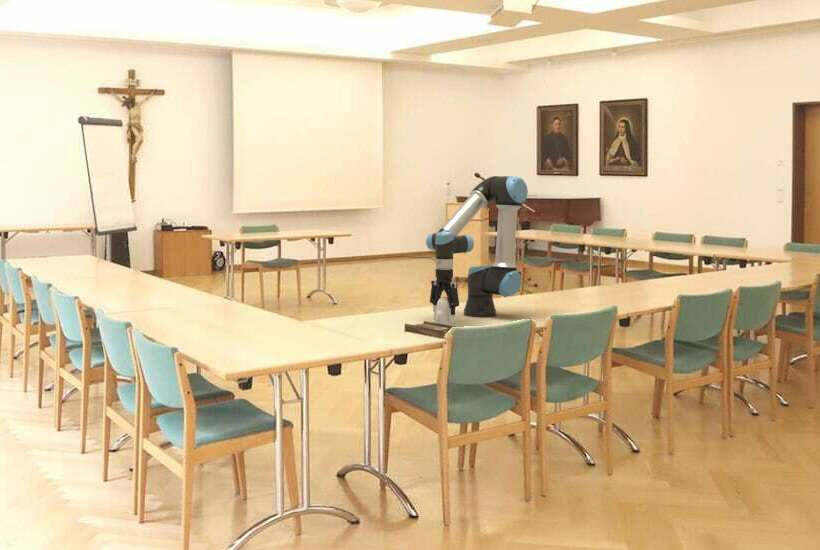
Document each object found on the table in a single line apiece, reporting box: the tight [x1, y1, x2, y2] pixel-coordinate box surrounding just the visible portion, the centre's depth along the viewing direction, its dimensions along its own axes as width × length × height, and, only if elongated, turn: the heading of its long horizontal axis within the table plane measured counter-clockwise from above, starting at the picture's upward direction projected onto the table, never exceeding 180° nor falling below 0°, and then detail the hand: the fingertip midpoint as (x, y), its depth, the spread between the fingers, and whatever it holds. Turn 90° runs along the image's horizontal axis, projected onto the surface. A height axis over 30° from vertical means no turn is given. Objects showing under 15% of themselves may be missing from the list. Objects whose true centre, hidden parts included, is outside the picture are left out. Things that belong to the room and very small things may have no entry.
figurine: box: [435, 296, 451, 326], centre depth 383 cm, size 7×8×12 cm
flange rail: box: [404, 320, 456, 339], centre depth 370 cm, size 12×22×4 cm, turn 43°
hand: (444, 321), depth 384 cm, fingers closed on figurine, 8 cm apart
